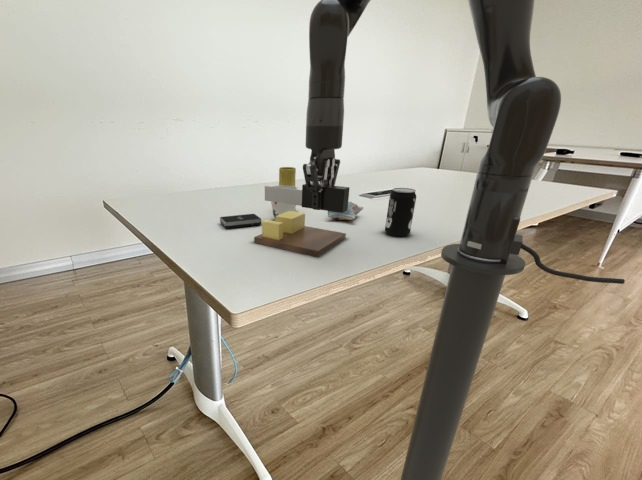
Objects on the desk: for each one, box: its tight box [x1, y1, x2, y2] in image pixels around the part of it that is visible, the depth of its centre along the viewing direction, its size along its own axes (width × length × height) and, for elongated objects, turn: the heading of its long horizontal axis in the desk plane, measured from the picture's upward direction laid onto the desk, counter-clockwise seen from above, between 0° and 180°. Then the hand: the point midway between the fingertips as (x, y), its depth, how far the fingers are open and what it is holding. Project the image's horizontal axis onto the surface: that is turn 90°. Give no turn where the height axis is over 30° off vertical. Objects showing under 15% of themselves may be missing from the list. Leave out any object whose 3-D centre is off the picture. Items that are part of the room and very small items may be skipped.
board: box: [253, 225, 347, 258], centre depth 88 cm, size 18×16×2 cm
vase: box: [278, 166, 297, 212], centre depth 113 cm, size 6×6×14 cm
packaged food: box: [327, 201, 364, 221], centre depth 108 cm, size 9×12×5 cm
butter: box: [276, 211, 306, 234], centre depth 92 cm, size 5×7×4 cm
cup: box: [270, 185, 299, 221], centre depth 104 cm, size 8×8×10 cm
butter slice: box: [261, 219, 283, 240], centre depth 85 cm, size 5×2×4 cm, turn 57°
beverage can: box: [384, 187, 417, 238], centre depth 92 cm, size 7×7×12 cm
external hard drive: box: [219, 213, 262, 229], centre depth 101 cm, size 7×11×2 cm, turn 113°
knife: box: [264, 183, 350, 213], centre depth 78 cm, size 21×3×5 cm, turn 57°
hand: (320, 207), depth 77 cm, fingers closed on knife, 3 cm apart
